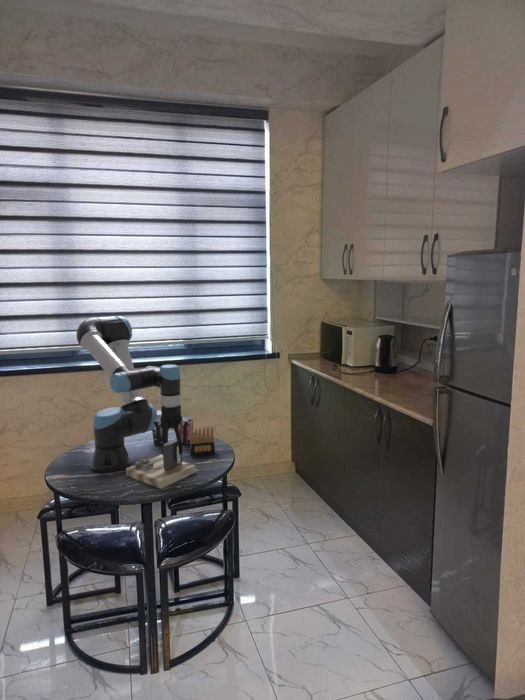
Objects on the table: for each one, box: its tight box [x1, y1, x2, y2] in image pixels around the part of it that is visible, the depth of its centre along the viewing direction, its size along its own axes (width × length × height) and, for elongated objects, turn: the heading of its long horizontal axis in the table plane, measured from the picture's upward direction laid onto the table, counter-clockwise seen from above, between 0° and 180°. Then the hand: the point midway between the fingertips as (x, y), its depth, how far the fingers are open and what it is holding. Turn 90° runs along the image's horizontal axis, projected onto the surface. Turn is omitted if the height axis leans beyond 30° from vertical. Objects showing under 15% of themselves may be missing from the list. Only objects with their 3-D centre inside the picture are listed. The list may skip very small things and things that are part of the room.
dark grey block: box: [162, 437, 184, 471], centre depth 188 cm, size 9×2×10 cm, turn 153°
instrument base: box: [125, 454, 196, 489], centre depth 189 cm, size 20×18×6 cm
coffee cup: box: [151, 409, 169, 446], centre depth 223 cm, size 10×10×15 cm
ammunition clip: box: [189, 426, 216, 456], centre depth 210 cm, size 11×2×12 cm, turn 104°
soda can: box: [179, 415, 194, 445], centre depth 224 cm, size 6×6×12 cm
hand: (172, 461), depth 188 cm, fingers closed on dark grey block, 4 cm apart
